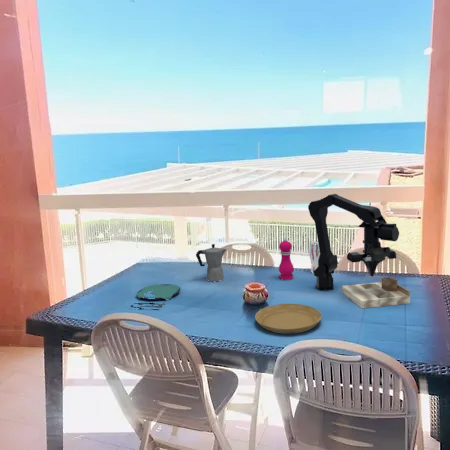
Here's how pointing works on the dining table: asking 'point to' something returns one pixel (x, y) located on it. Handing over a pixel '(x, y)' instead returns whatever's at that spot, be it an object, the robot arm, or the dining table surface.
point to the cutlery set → (159, 292)
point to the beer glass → (314, 255)
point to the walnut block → (389, 284)
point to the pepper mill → (285, 260)
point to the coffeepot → (213, 262)
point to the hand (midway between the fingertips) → (371, 276)
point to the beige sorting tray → (375, 295)
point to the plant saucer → (288, 318)
